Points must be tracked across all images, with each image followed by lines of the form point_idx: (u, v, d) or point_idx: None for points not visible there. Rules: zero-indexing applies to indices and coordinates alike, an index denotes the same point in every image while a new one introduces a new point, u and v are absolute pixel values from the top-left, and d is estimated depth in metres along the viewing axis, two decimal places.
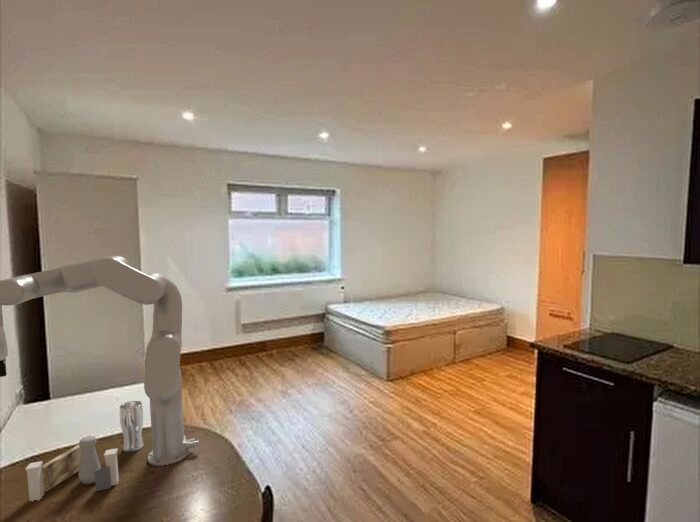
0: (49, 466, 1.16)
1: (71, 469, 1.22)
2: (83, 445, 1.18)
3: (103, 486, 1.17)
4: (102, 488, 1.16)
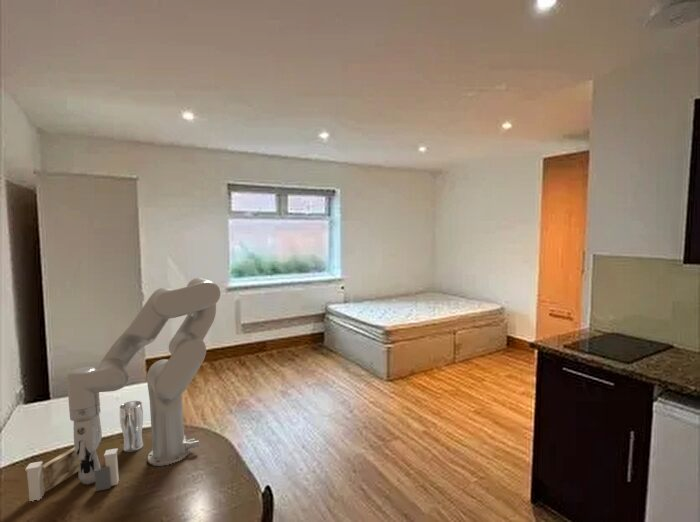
0: (49, 466, 1.16)
1: (71, 469, 1.22)
2: None
3: (103, 486, 1.17)
4: (102, 488, 1.16)
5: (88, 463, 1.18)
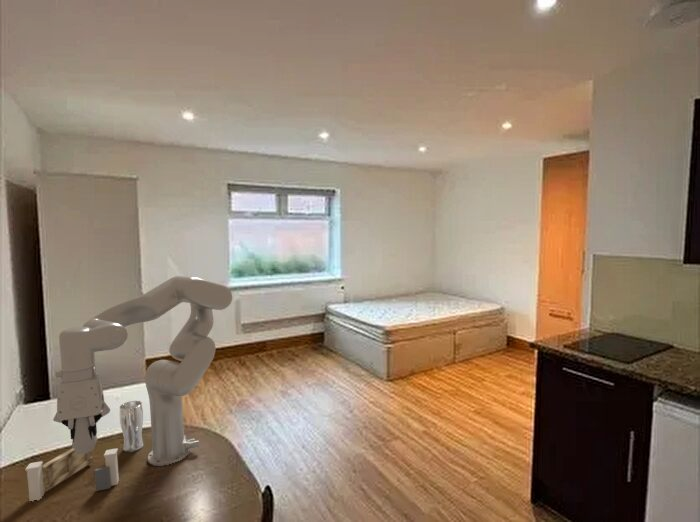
0: (49, 466, 1.16)
1: (71, 469, 1.22)
2: None
3: (103, 486, 1.17)
4: (102, 488, 1.16)
5: None
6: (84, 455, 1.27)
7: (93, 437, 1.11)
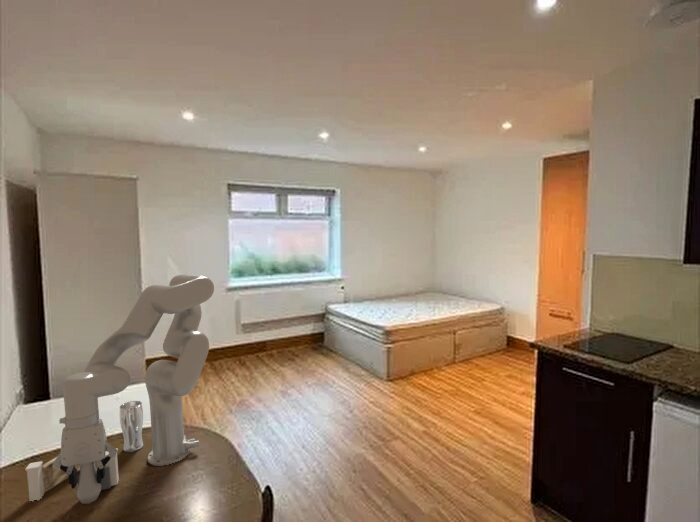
0: (49, 466, 1.16)
1: None
2: None
3: (103, 486, 1.17)
4: (102, 488, 1.16)
5: None
6: None
7: (98, 486, 1.12)
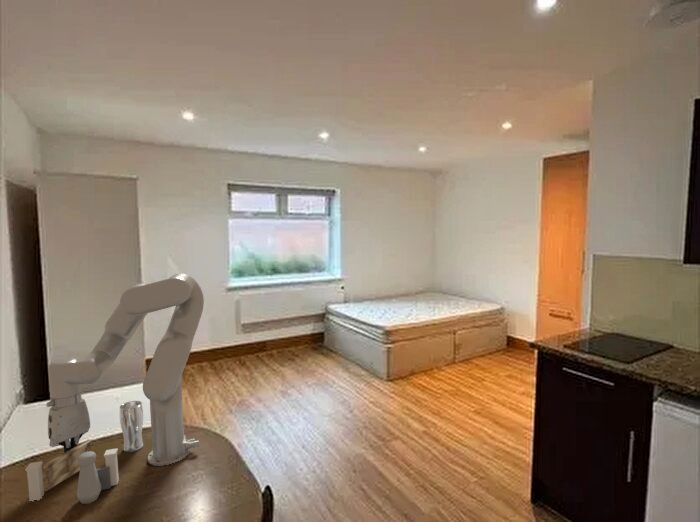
0: (49, 466, 1.16)
1: (71, 469, 1.22)
2: None
3: (103, 486, 1.17)
4: (102, 488, 1.16)
5: (66, 448, 1.24)
6: None
7: (97, 486, 1.12)
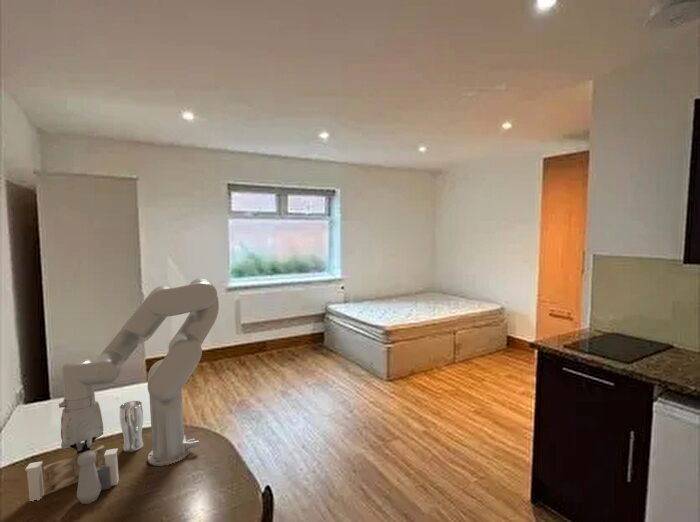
0: (50, 469, 1.15)
1: (77, 474, 1.20)
2: None
3: (103, 486, 1.17)
4: (102, 488, 1.16)
5: (78, 451, 1.22)
6: (95, 461, 1.24)
7: (97, 486, 1.12)
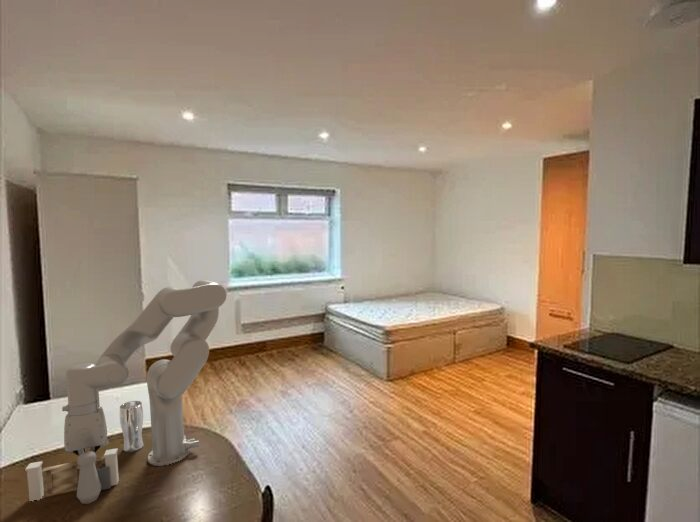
0: (47, 472, 1.13)
1: (75, 482, 1.16)
2: None
3: (103, 486, 1.17)
4: (102, 488, 1.16)
5: None
6: None
7: (97, 486, 1.12)
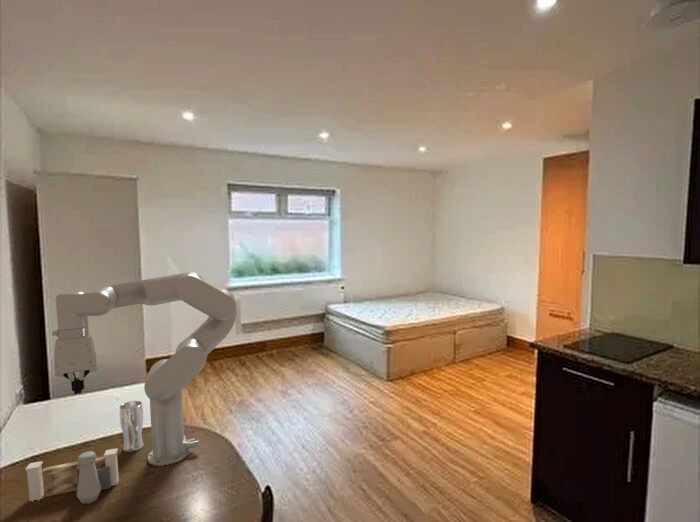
0: (47, 472, 1.13)
1: (75, 482, 1.16)
2: None
3: (103, 486, 1.17)
4: (102, 488, 1.16)
5: (71, 382, 1.23)
6: None
7: (97, 486, 1.12)
